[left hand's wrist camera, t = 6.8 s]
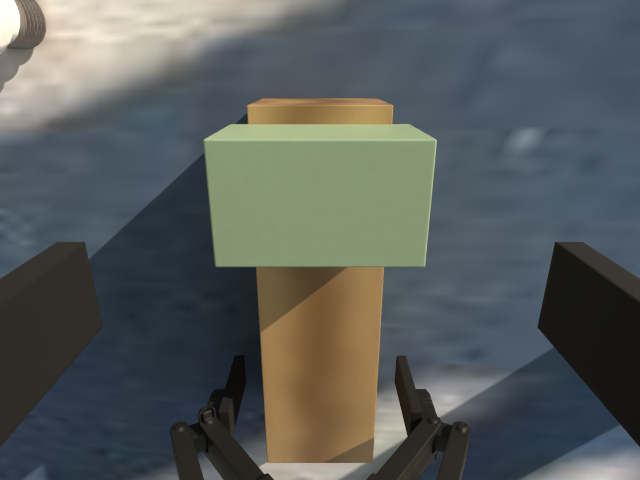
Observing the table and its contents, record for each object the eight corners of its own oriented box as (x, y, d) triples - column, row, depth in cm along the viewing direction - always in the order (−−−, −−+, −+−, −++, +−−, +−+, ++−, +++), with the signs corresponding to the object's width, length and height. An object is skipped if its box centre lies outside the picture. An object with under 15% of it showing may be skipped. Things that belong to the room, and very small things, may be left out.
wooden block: (377, 98, 30) (393, 105, 24) (364, 398, 40) (372, 463, 33) (262, 98, 30) (246, 105, 24) (275, 398, 40) (267, 463, 33)
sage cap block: (410, 124, 24) (437, 139, 19) (402, 226, 26) (425, 267, 21) (229, 123, 24) (202, 139, 19) (237, 226, 26) (214, 267, 21)
